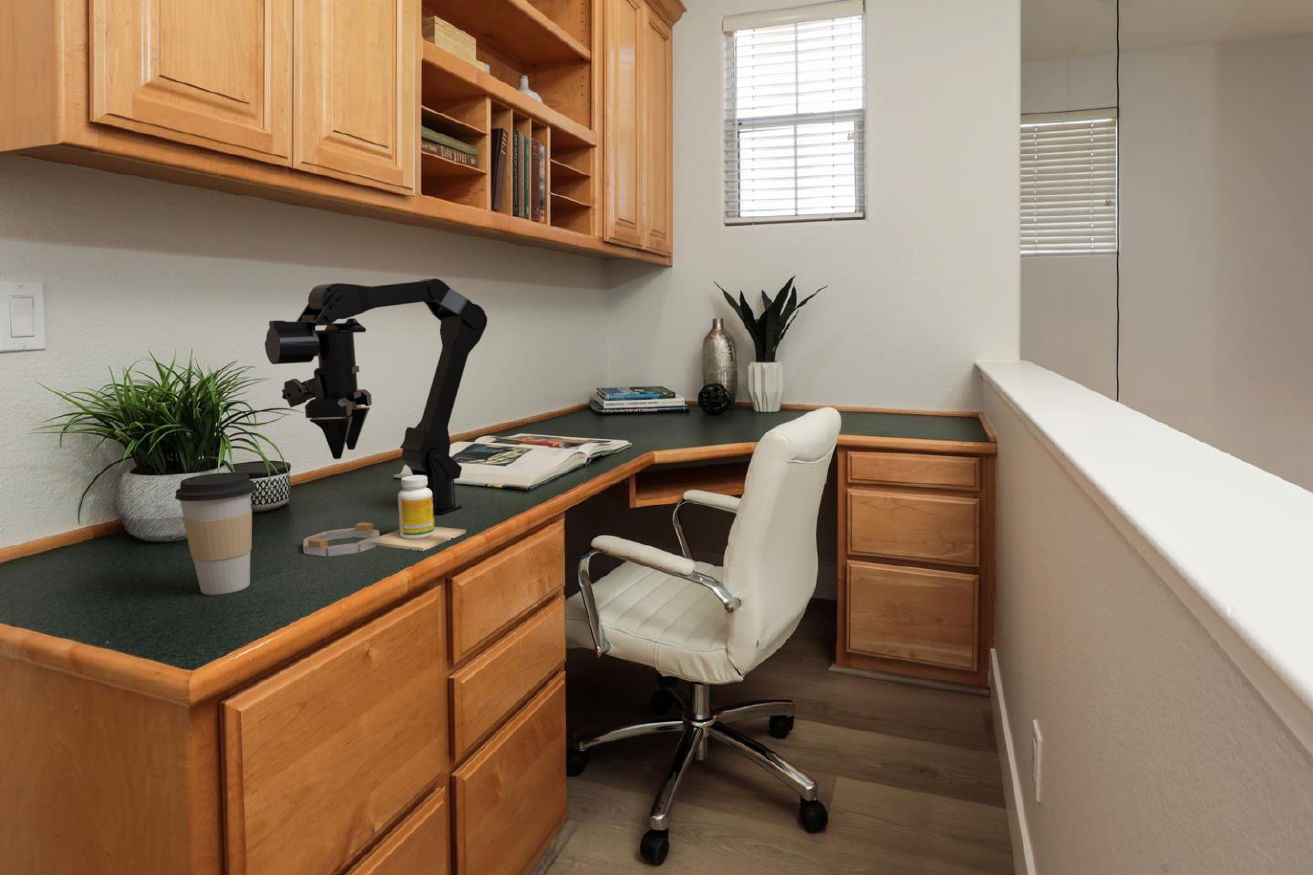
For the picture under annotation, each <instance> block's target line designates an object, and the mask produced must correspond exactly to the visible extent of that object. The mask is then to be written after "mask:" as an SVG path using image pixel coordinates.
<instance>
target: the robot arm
mask: <svg viewBox="0 0 1313 875" xmlns="http://www.w3.org/2000/svg"><path fill="white" fill-rule="evenodd" d="M307 302H308V303H307V305H306V306H305V308H304V309H303V310H302V312H301V314H299V316H298V318H297V319H296V321H286V320H269V322H268V326H269V327H268V330H267V332H266V336H265V341H264V350H265V353H266V354H265V355H266V356H267V359H268V361H269V363H270V364H272V365H285V364H301V363H302V364H303V363H304V364H305V363H312V362H313V360H314V358H315V357H317V358H318V367H317V368H314V370H313V377H312V378H309V379H307V380H304V381H302V382H301V381H300V380H299V379H298V378H292V379H289V380H286V381H285V382H284V383H283V384H284V385H283V389H281V392H282V396H281V398H282V399H283V400H286V401H287V403H288V406H289V407H290V409H291V408H293V407H296V406H299V405H303V404H305V403H306V402H307V401H308V402H307V403H306V404H305V406H304V410H305V419H309V421H310V423H312V424H314V425H316V426H317V427H319V428H320V429H321V431H322V432H323V435H324V437H325V440H326V442H327V445H328V448H329V450H330V452H331V456H332V457H333V459H334V460H340V459H342V457H343V452H344V450H345V446H346V448H347V450H350V451H353V450H356V446H357V444H358V440H359V438H360V436H361V432H362V430H363V427H364V425H365V422H366V419H367V417H368V414H369V411H370V408H371V407H370V406H371V405H372V404H373V403H372V402H373V400H372V394H371V393H370V392H369V391H368V390H367V389H365V388H364V389H363V388H362V389H359V388H358V376H357V373H360V365H356V364H357V363H356V351H355V337H354V334H355V333H365V332H367V328H366V327H365V326H364V325H362V323H361V324H360V323H359V321H358V320H357V319H356V318H355V316H358V315H362V314H364V313H365V312H368V311H370V310H374V309H377V308H383V307H384V308H385V307H391V306H401V305H408V304H416V303H424V304H425V305H426V306H427V308H428V310H429V311H430V312H431V314H432V315H433V316H434V317H435V318H436V319H438V320H439V321H440V328H439V334H440V340H441V352H440V355H439V358H438V362H437V366H436V369H435V371H434V376H433V379H432V382H431V385H430V389H429V392H428V396H427V399H426V403H425V407H424V410H423V414H422V417H421V420H420V421H419V422H418V424H417V425H416V426H415V427H411V426H410V427H409V426H407V427H406V429H405V432H404V439H403V442H402V444H401V445H400V446H399V448H400V449H402V452H401V458H402V460H403V462H404V464H405V465H406V466H407V468H409V469H410V472H411V473H412V475H424V476H427V481H428V484H427V486H426V488H428V489H430V490H431V491H432V495H433V514H434V515H444V514H447V513H450V512H452V511H454V510H455V511H456V510H458V509H460V508H463V503H456V492H455V480H458V479H460V478H461V474H462V470H463V467H462V465H460V464H459V463H458V462H457V461H455V459H453V458H452V457H451V456H450V451H451V439H450V433H449V424H450V420H451V417H452V413H453V410H454V406H455V403H456V399H457V397H458V396H457V395H458V391H459V388H460V385H461V382H462V378H463V375H464V371H465V368H466V364H467V361H468V358H469V354H470V353H471V351H473V350H474V348H475V347H476V346H477V344H478V343H479V342H480V340H481V339H482V337H483V335H484V332H485V330H486V329H487V325H488V316H487V315H486V312H485V310H484V308H482V307H481V306H480V305H478V304H476V303H473V302H472V301H471V300H470V299H469V298H467V297H465V296H464V295H462V294H460V293H459V292H457V291H456V290H454V289H452V288H451V287H450V286H449V285H448V284H447V283H445V281H443V280H442V279H440V278H425V279H421V280H418V281H411V282H401V283H391V284H381V285H373V286H370V285H362V284H361V285H360V284H353V283H340V282H336V283H335V282H334V283H327V284H325V283H324V284H319V285H316V286H314V287H313V288H312V290H310V292H309V295H308V298H307ZM351 317H352V318H351ZM353 317H354V318H353ZM345 319H347V320H346V321H344V322H337V323H336V321H337V320H345ZM316 326H317V327H318V326H325V327H324V329H322V330H320V329H319V330H318V329H317V330H316ZM363 406H364V407H363Z"/></svg>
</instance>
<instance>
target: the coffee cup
mask: <svg viewBox="0 0 1313 875" xmlns="http://www.w3.org/2000/svg"><path fill="white" fill-rule="evenodd" d="M179 484H180V485H179V488H177V489H176V491H175V497H174V499H175V500H177V501H179V502H180V507H181V511H182V516H183V517H182V521H183V526H184V529H185V535H186V538H187V543H188V548H189V552H190V557H191V559H192V560H193V564H194V567H195V571H196V575H197V582H198V584H199V588H200V592H201V593H202V594H203V595H206V596H207V595H208V596H217V595H218V596H219V595H226V594H232V593H237V592H239V591H242V590H244V589H246V588H247V587H249V585H250V583H251V582H250V581H251V551H252V545H253V544H252V538H253V536H252V534H253V530H252V528H253V509H252V508H251V507H252V498H251V497H252V493H254V492H255V491H257V487H256V483H255V482H254V481H252V480H250V476H249V473H246V472H235V471H234V472H233V471H232V472H229V471H228V472H215V473H208V474H207V473H206V474H200V475H194V476H191V477H187V478H183V479H181V480H180V483H179Z"/></svg>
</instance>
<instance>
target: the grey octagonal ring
mask: <svg viewBox="0 0 1313 875" xmlns="http://www.w3.org/2000/svg"><path fill="white" fill-rule="evenodd" d="M380 536H381V535H380V530H378V529H374V524H373V523H372V522H362V521H361V522H358V523H356V524H355V525H354V527H350V528H340V529H332V530H327V531H322V532H319V533H316V534H313V535H310V536H307V537H304V538H303V544H302V546H303V554H306V555H311V556H320V557H333V556H341V555H351V554H358V553H362V552H365V551H368V550H370V549H372V548H375V547H378V546H377V543H378V542H380V541H381V540H380ZM349 538H359V539H362V540H360V541H357V542H354V543H353V542H351V543H346V544H345V543H344V544H336V545H328V544H329V543H328V541H331V540H332V541H333V540H339V539H349Z"/></svg>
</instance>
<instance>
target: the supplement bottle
mask: <svg viewBox="0 0 1313 875" xmlns="http://www.w3.org/2000/svg"><path fill="white" fill-rule="evenodd" d="M400 480H401V481H400V482H401V487H402V488H403V489H402V490H400V491H399V492H398V494H397V506H398V519H399V520H398V521H399V523H398V524H399V529H400V535H401V537H403V538H405V539H422V538H426V537H430V536H432V535H433V534H434V532H435V530H434V527H435V516H434V515H435V514H433V495H432V491H431V490H430V489H428V488H426V486H427V484H428V481H427V476H424V475H413V474H412V475H406V476H404V477H402V478H401V479H400Z"/></svg>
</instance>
